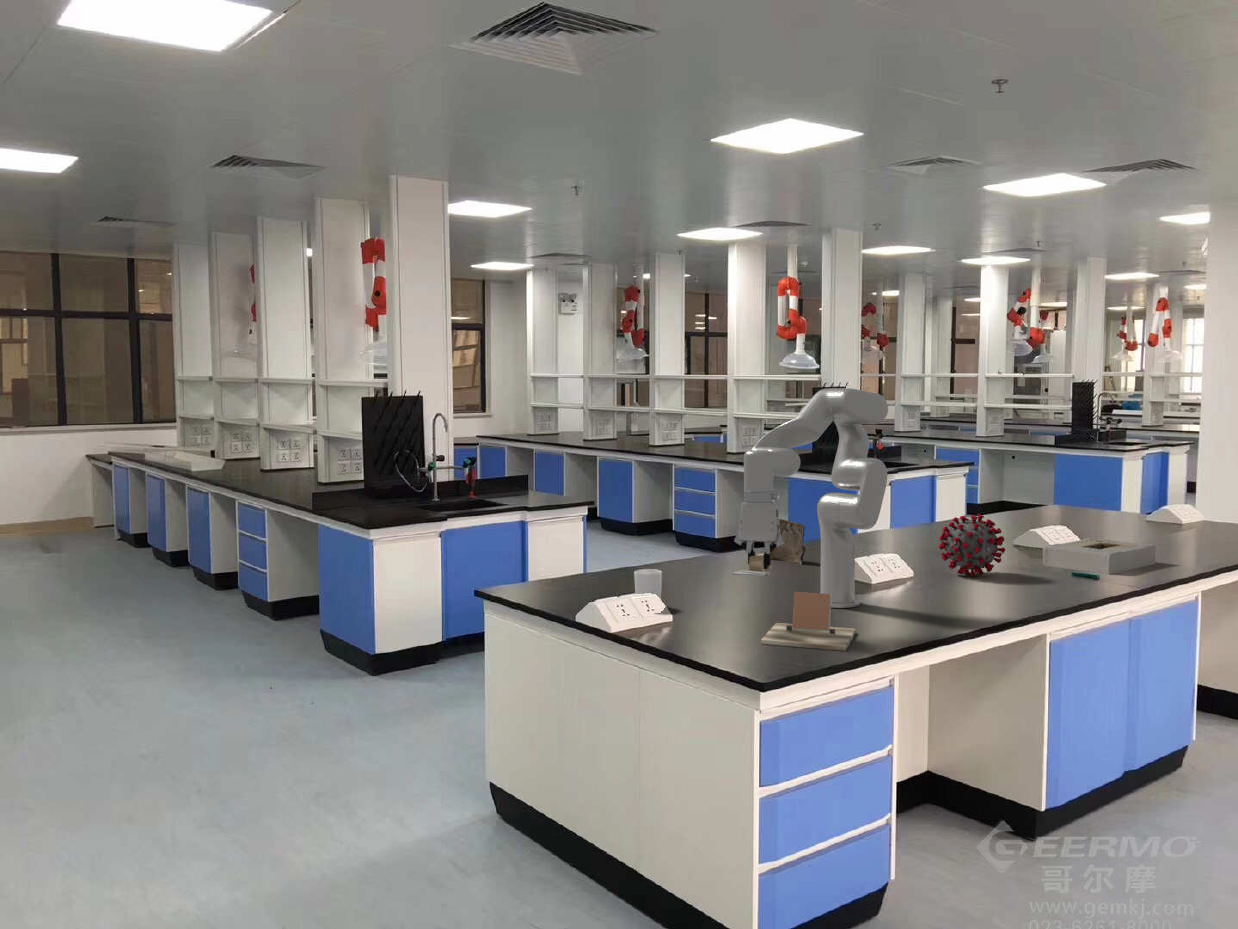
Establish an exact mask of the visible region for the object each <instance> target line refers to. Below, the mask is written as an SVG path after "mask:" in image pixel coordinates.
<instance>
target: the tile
mask: <svg viewBox="0 0 1238 929" xmlns="http://www.w3.org/2000/svg"><path fill="white" fill-rule="evenodd" d="M793 594H794V595H793V612H792V623H791V624H792V628H795V629H808V630H821V631H829V630H830V627H831V610H832V609H831V608H832V607H831V594H821V592H819V593H818V592H817V593H816V592H804V591H803V592H802V591H801V592H800V591H794V593H793Z"/></svg>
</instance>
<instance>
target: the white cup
mask: <svg viewBox="0 0 1238 929" xmlns="http://www.w3.org/2000/svg"><path fill="white" fill-rule="evenodd" d="M633 576H634V591H635V594H641V593H651V594H656V595H657V596H658V597H659V598H660V600H661V598H662V587H663V586H662V584H663V583H662V582H663V580H662V579H663V571H662V570H660V569H653V568H644V569H643V568H642V569H637V570H634V572H633Z"/></svg>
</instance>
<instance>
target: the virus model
mask: <svg viewBox="0 0 1238 929" xmlns="http://www.w3.org/2000/svg"><path fill="white" fill-rule="evenodd" d="M970 518H971V519H969V518H967V517H966V515H961V516H960V517H959V518H958V517H953V518H952V521H951V522H950V523H949V524H948V527H950V529H949V528H948V527H947V526H944V527H943V528H942V532H941V535H940V537H939V541H940V542H941V543H940V544H939V545H938V548H939V550H940V551H942V550H944V551H945V552H946V553H945V552H941V558H942V560H943V561H944V562H946V561H947V560H949V559H950V561H949V564H948V567H949V569H950V570H954V569H956V568H957V567H959V569H958V570H957V574H958V575H970V577H976V576H977V574H978V575H979V576H982V575H985V573H986V572H987V573H990V572H992V571H993V568H994V567H995V564H992V563H993V561H995V562H996V563H997V564H1000V563H1002V558H1001V557H1002V555H1003V554H1004V553H1005V552H1006V548H1005V547H1002V546H1003V545H1004V542H1005V537H1004V536H1001V535H1000V536H997V535H999V534H1002V529H1001V527H1000V528H999V527H997V528H995V527H996V523H995V522H994V521H992V520H991V519H990V518H989V519H988V518H987V519H986V520H982V519H983V518H985V516H984V515H983V514H978V515H977V516H975V514H974V515H971V516H970ZM959 519H960V520H961V522H960V521H959ZM998 546H999V547H998ZM983 569H986V572H985V571H983ZM969 570H970V571H969Z"/></svg>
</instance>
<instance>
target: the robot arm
mask: <svg viewBox="0 0 1238 929" xmlns="http://www.w3.org/2000/svg"><path fill="white" fill-rule="evenodd" d="M888 404H889V403H888V401H887V400H886V398H885V397H884V396H883V395H882V394H880V393H877V392H876V393H875V392H871V391H867V390H866V391H865V390H861V389H857V388H846V387H844V388H843V387H842V388H840V387H839V388H835V387H833V388H831V387H830V388H822V389H820V390H818V391H817V392H816V393H815V394H814V395H813V396H812V397H811V398H810V400H808V402H807V403H806V404H805V405H804V406H803V407H802V409H801V410H800V411H799V412H798V413H797V414H796V416H795V417H794V418H792V419H790V420H789V421H786V422H784V423H782V424H781V425H779V426H777V427H775V428H773V429H771V430H770V431H768V432H767V433H765V434H764V435H763V436H762V437H761V438H760V439H759V440H758V441H757V442H756V443H755V445H754V446H752V448H751V449H750V450H746V451H745V452H744V455H743V500H744V501H743V502H742V503H741V505H740V511H739V512H740V513H739V521H738V532H737V534H736V536H735V537H734V540H733V542H735V543H736V544H737V545H739V546H741V547H742V548H743V549H744V551H745V553H747V565H748V566H749V557H751V556H755V555H756V552H755V550H754V545H755V544H754V543H755V542H757V543H764V553H763V554H764V555H763V557H764V569H767V568H769V566H770V565H771V566H772V559H771V552H772V551H773V550H774V549H775V548H776V547H778V546H780V545H782V544H784V542H785V541H784V539H783V537H782V536H781V534H780V523H779V519H780V514H779V513H780V512H779V508H778V503H777V502H774V501H775V500H779V499H780V494H779V493H775V490H774V477H783V478H786V477H791V476H793V475H795V474H796V473H797V472H798V471H799V469H800V467H801V458H800V455H799V453H798V452H797V451H795V449H794V450H793V448H797V447H802V446H805V445H809V444H811V443H814V442H816V441H817V440H819V438H820V437H821V436H822V435H823V434H824V432H825V431H826V430H827V429H828V427H829V426H830V425H831V424H833V422H834V424H835V426H836V430H837V432H838V436H839V440H838V445H837V450H836V454H835V458H834V462H833V466H832V470H831V477H830V479H831V480H830V481H831V483H832V485H833V486H834V487H835V488H837V489H840V490H845V491H852V492H853V491H857V492H859V493H858V494H856V493H846V492H845V493H844V492H830V493H826V494H824V495H823V496H821V497H820V498H819V500H818V503H817V507H816V512H817V514H816V515H817V518H818V524H819V531H820V593H821V594H831V608H834V609H835V608H836V609H837V608H838V609H846V608H847V609H848V608H856V607H859V606H860V605H861V600H860V599H859V598H858V597H856V596H855V594H856V591H855V590H856V589H855V586H856V585H855V584H856V582H855V577H856V573H855V572H856V569H855V568H856V541H855V537H854V535H853V533H852V530H851V529H854V530H862V531H863V530H865V531H866V530H869V529H872V528H874V527H875V526H876V524H877V522H878V519H879V517H880V514H881V513H880V512H881V509H882V507H883V500H884V497H885V492H886V488H887V485H888V484H887V483H888V469H887V466H886V465H885V463H884V462H883V461H882V460H881V459H878V458H875V457H868V453H869V448H870V439H869V436H868V433H867V432H866V430H865V429H864V427H863V425H878V424H881V423H883V421H885V420H886V418H887V416H888V412H889V405H888ZM776 539H777V542H775V543H773V544H772V542H774V541H776Z"/></svg>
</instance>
